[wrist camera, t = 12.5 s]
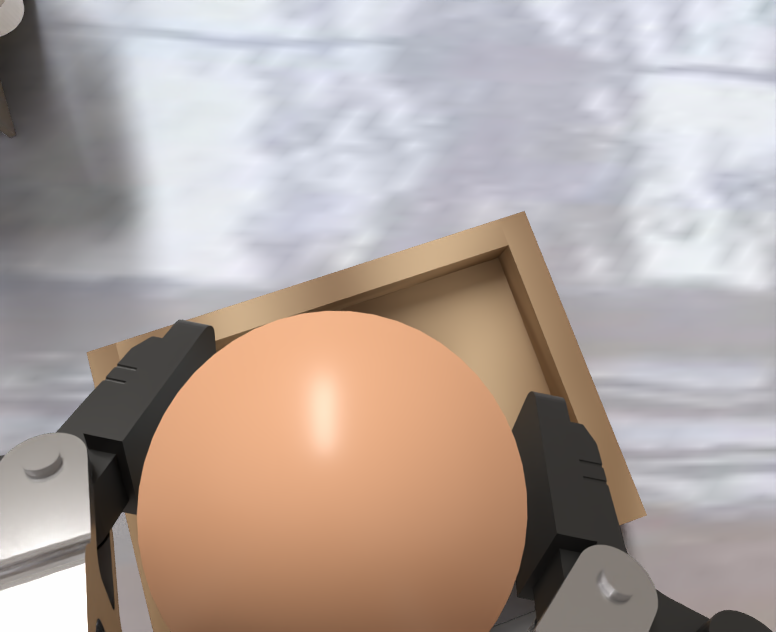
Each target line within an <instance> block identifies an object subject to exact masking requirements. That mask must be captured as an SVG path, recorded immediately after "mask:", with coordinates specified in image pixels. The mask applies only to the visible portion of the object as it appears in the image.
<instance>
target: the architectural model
mask: <svg viewBox="0 0 776 632" xmlns="http://www.w3.org/2000/svg"><path fill="white" fill-rule="evenodd" d="M23 14H24V4H23V0H0V37H1V36H3V35H5V34H7V33H9V32H11V31H12V30H14V29H15V28H16V27H17V26H18V25H19V23H20V22H21V20H22V18H23ZM0 131H1V132H2V133H4V134H5V135H7V136H8V137H9V138H10V137H13V136H16V133H15V129H14V126H13V122H12V119H11V115H10V112H9V108H8V105H7V101H6V98H5V94H4V91H3V87H2V84H1V80H0Z"/></svg>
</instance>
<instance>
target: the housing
mask: <svg viewBox="0 0 776 632" xmlns="http://www.w3.org/2000/svg"><path fill="white" fill-rule="evenodd" d="M535 618H536V611H534V612H531V613H529V614H526V615H523V616H521V617H518V618H516V619H513V620H510V621H508V622H505V623H502V624H500V625H497V626H494V627H492V628H491V630H490V631H489V632H527V630H528V629H529V627H530V626H531V624H532V622H533V621H534V620H535Z"/></svg>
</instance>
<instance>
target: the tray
mask: <svg viewBox="0 0 776 632" xmlns="http://www.w3.org/2000/svg"><path fill="white" fill-rule="evenodd" d="M321 311H352V312H359V313H366V314H373V315H377V316H381V317H384V318H388V319H392V320H395V321H398V322H401V323H403V324H405V325H408V326H410V327H412V328H415V329H417V330H420V331H421V332H423V333H425V334H426V335H428V336H430V337H431V338H433V339H435V340H437V341H438V342H440V343H441V344H443V345H444V346H445V347H447V348H448V349H449V350H450V351H452V352H453V353H454V354H456V355H457V356H458V357H460V358H461V359H462V360H463V361H464V362H465V363H466V364H467V365H468V366H469V367H470V368H471V369H472V370H473V371H474V372H475V373H476V374H477V375H478V377H479V378H480V379H481V381H482V382H483V383H484V385H485V386H486V387H487V388H488V390H489V391H490V392H491V394H492V395H493V397H494V398H495V400H496V402H497V403H498V405H499V407H500V409H501V410H502V412H503V414H504V415H505V417H506V419H507V422H508V424H509V426H510V429H511V431H512V429H513V426H514V424H515V422H516V420H517V417H518V415H519V413H520V410H521V408H522V406H523V403H524V401H525V399H526V397H527V395H528V393H529V392H531V391H533V392H538V393H543V394H548V395H553V396H558V397H563V398H564V399H565V401H566V405H567V409H568V413H569V418H570V422H574V423H579V424H583V425H584V426H585V428H586V429H587V431H588V432H589V433H590V435H591V436H592V438H593V439H594V440H595V442H596V443H597V446H598V450H599V453H600V457H601V460H602V468H604V471H605V475H606V479H607V485H608V486H609V490H610V493H611V497H612V501H613V504H614V508H615V511H616V515H617V519H618V522H619V525H622V524H625V523H627V522H630V521H633V520H635V519H638V518H641V517H643V516H646V515H647V514H646V512H645V509H644V507H643V504H642V502H641V499H640V497H639V494H638V492H637V489H636V487H635V484H634V482H633V480H632V477H631V475H630V472H629V470H628V467H627V465H626V462H625V460H624V457H623V455H622V452H621V450H620V447H619V445H618V442H617V440H616V437H615V435H614V432H613V430H612V427H611V425H610V422H609V420H608V417H607V415H606V412H605V410H604V407H603V405H602V402H601V400H600V398H599V395H598V393H597V390H596V388H595V385H594V383H593V380H592V378H591V375H590V373H589V370H588V368H587V365H586V363H585V360H584V358H583V355H582V353H581V350H580V348H579V345H578V343H577V340H576V338H575V335H574V333H573V330H572V328H571V325H570V323H569V320H568V318H567V316H566V313H565V311H564V308H563V306H562V303H561V301H560V298H559V296H558V293H557V291H556V288H555V286H554V283H553V281H552V278H551V276H550V273H549V271H548V268H547V266H546V263H545V261H544V258H543V256H542V253H541V251H540V248H539V246H538V243H537V241H536V238H535V236H534V233H533V231H532V229H531V226H530V224H529V221H528V219H527V216H526V214H525V211H523V212H520V213H517V214H514V215H511V216H508V217H505V218H502V219H499V220H496V221H492V222H489V223H486V224H483V225H480V226H477V227H474V228H471V229H468V230H465V231H461V232H458V233H455V234H452V235H449V236H446V237H443V238H440V239H437V240H434V241H431V242H427V243H424V244H421V245H418V246H415V247H412V248H409V249H406V250H403V251H400V252H396V253H393V254H390V255H387V256H384V257H381V258H378V259H375V260H372V261H369V262H365V263H362V264H359V265H356V266H353V267H350V268H347V269H344V270H341V271H338V272H334V273H331V274H328V275H325V276H322V277H319V278H316V279H313V280H310V281H307V282H303V283H300V284H297V285H294V286H291V287H288V288H285V289H282V290H279V291H276V292H272V293H269V294H266V295H263V296H260V297H257V298H254V299H251V300H248V301H245V302H241V303H238V304H235V305H232V306H229V307H226V308H223V309H220V310H217V311H214V312H210V313H207V314H204V315H201V316H198V317H195V318H192V319H189V320H186V321H191V322H196V323H201V324H206V325H211V326H212V327H213V328H214V331H215V343H216V353H217V352H218V351H220V350H221V349H222V348H224V347H225V346H227V345H228V344H229V343H231V342H232V341H234V340H235V339H237V338H239V337H241V336H243V335H245V334H246V333H248V332H250V331H252V330H254V329H256V328H258V327H261V326H263V325H266V324H268V323H271V322H274V321H276V320H279V319H283V318H287V317H291V316H295V315H299V314H304V313H313V312H321ZM173 325H174V324H173ZM173 325H170V326H167V327H164V328H161V329H158V330H155V331H152V332H149V333H145V334H142V335H139V336H136V337H133V338H130V339H127V340H124V341H121V342H118V343H114V344H111V345H108V346H105V347H102V348H99V349H96V350H93V351H90V352H87V356H88V360H89V364H90V368H91V373H92V377H93V381H94V385H95V388H96V387H97V386H98V385H99V384H100V383H101V382H102V380H104V381H105V379H106V376H107V375H108V374H109V373H110V371H111V370H112V369H113V368H114V367H117V364H118V363H119V361H120V360H121V359H122V358H123V357H124V356H125V355H126V354H127V352H128V351H129V350H130V349H131V348H132V347H134V346H136V345H138V344H139V343H141V342H143V341H145V340H146V339H148V338H150V337H152V336H154V337H159V338H163V337H164V336H165V334H166V333H167V332H168V331H169V330H170V328H171V327H172V326H173ZM125 515H126V519H127V523H128V528H129V532H130V536H131V540H132V544H133V548H134V553H135V557H136V561H137V565H138V569H139V574H140V578H141V582H142V586H143V590H144V595H145V599H146V603H147V607H148V611H149V615H150V620H151V624H152V628H153V632H171V631H170V629H169V628H168V626H167V625H166V623H165V622H164V620H163V619H162V616H161V614H160V612H159V610H158V608H157V606H156V604H155V601H154V599H153V597H152V595H151V592H150V589H149V586H148V583H147V580H146V577H145V573H144V570H143V566H142V560H141V555H140V549H139V544H138V528H137V515H134V514H129V513H125Z"/></svg>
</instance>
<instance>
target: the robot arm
mask: <svg viewBox="0 0 776 632" xmlns="http://www.w3.org/2000/svg"><path fill="white" fill-rule="evenodd" d="M215 353H216V343H215V331H214V328H213V327H212V326H211V325H206V324H201V323H196V322H191V321H186V320H178V321H177V322H176V323H175V324H174V325H173V326H172V327H171V328H170V330H169V331H168V332H167V333H166V334H165V336H164V337H163V338H159V337H154V336H152V337H150V338H148V339H146V340H145V341H143V342H141V343H139V344H138V345H136V346H134V347H132V348H131V349H130V350H129V351H128V352H127V354H126V355H125V356H124V357H123V358H122V359H121V360H120V361H119V363H118V364H117V367H114V368H113V369H112V370H111V371H110V373H109V374H108V375H107V376H106V379H105V381H104V380H102V382H101V383H100V384H99V385H98V386H97V387H96V388H95V389H94V391H93V392H92V393H91V394H90V395H89V396H88V397H87V398H86V399H85V401H84V402H83V403H82V404H81V405H80V406H79V407H78V408H77V410H76V411H75V412H74V413H73V414H72V415H71V416H70V417H69V419H68V420H67V421H66V422H65V423H64V424H63V425H62V426H61V427H60V429H59V430H58V431H57V432H56V433H48V434H43V435H39V436H36V437H33V438H31V439H28V440H26V441H24V442H22V443H20V444H19V445H17V446H16V447H14V448H13V449H12V450H10V451H9V452H8V453H7V454H6V455H3V456H0V632H122V630H121V624H120V616H119V604H118V592H117V579H116V566H115V554H114V541H113V532H112V527H113V525H114V524H115V522H116V520H117V519H118V517H119V516H120V514H121V513H122V512H125V513H129V514H134V515H137V507H138V494H139V486H140V481H141V476H142V471H143V466H144V462H145V459H146V456H147V453H148V450H149V447H150V444H151V441H152V438H153V436H154V434H155V432H156V430H157V428H158V425H159V423H160V421H161V419H162V417H163V415H164V413H165V412H166V410H167V409H168V407H169V405H170V404H171V402H172V401H173V399H174V398H175V396H176V395H177V393H178V392H179V390H180V389H181V388H182V387H183V386H184V385H185V383H186V382H187V381H188V380H189V379H190V377H191V376H192V375H193V374H194V373H195V372H196V371H197V370H198V369H199V368H200V367H201V366H202V365H203V364H204V363H205V362H206V361H207V360H209V359H210V358H211V357H212V356H213V355H214V354H215ZM512 433H513V436H514V438H515V441H516V444H517V447H518V451H519V454H520V458H521V461H522V465H523V471H524V478H525V484H526V491H527V527H526V537H525V546H524V550H523V555H522V559H521V563H520V568H519V572H518V574H517V577H516V588H517V597H520V598H525V599H530V600H534V601H535V610H536V618H535V620H534V621H533V622H532V624H531V626H530V627H529V629H528V630H527V632H772V631H771V630H770V629H769V628H768V627H766V626H765V625H764V624H762V623H761V622H760V621H758V620H756V619H755V618H753V617H751V616H749V615H747V614H744V613H741V612H738V611H733V610H724V611H721V612H718V613H717V614H715V615H714V616H713V617H712V618H711V619H709V618H707V617H705V616H703V615H701V614H699V613H697V612H695V611H693V610H691V609H690V608H688V607H686V606H684V605H682V604H680V603H678V602H676V601H674V600H672V599H670V598H669V597H667V596H665V595H664V594H662V593H661V592H659V591H658V590H656V589H655V586H654V584H653V582H652V580H651V578H650V577H649V575H648V574H647V572H646V571H645V570H644V568H643V567H642V566H641V565H640V564H639V563H638V562H637V561H636V560H635V559H633V558H632V557H631V556H629V555H628V553H627V551H626V548H625V544H624V541H623V537H622V533H621V530H620V526H619V522H618V519H617V515H616V511H615V508H614V504H613V501H612V497H611V493H610V490H609V486H608V485H607V479H606V475H605V471H604V468H602V460H601V457H600V453H599V450H598V446H597V443H596V442H595V440H594V439H593V438H592V436H591V435H590V433H589V432H588V431H587V429H586V428H585V426H584V425H583V424H579V423H574V422H570V418H569V413H568V409H567V405H566V401H565V399H564V398H563V397H558V396H553V395H548V394H543V393H538V392H533V391H531V392H529V393H528V395H527V397H526V399H525V401H524V403H523V406H522V408H521V410H520V413H519V415H518V417H517V420H516V422H515V424H514V426H513V429H512Z"/></svg>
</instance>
